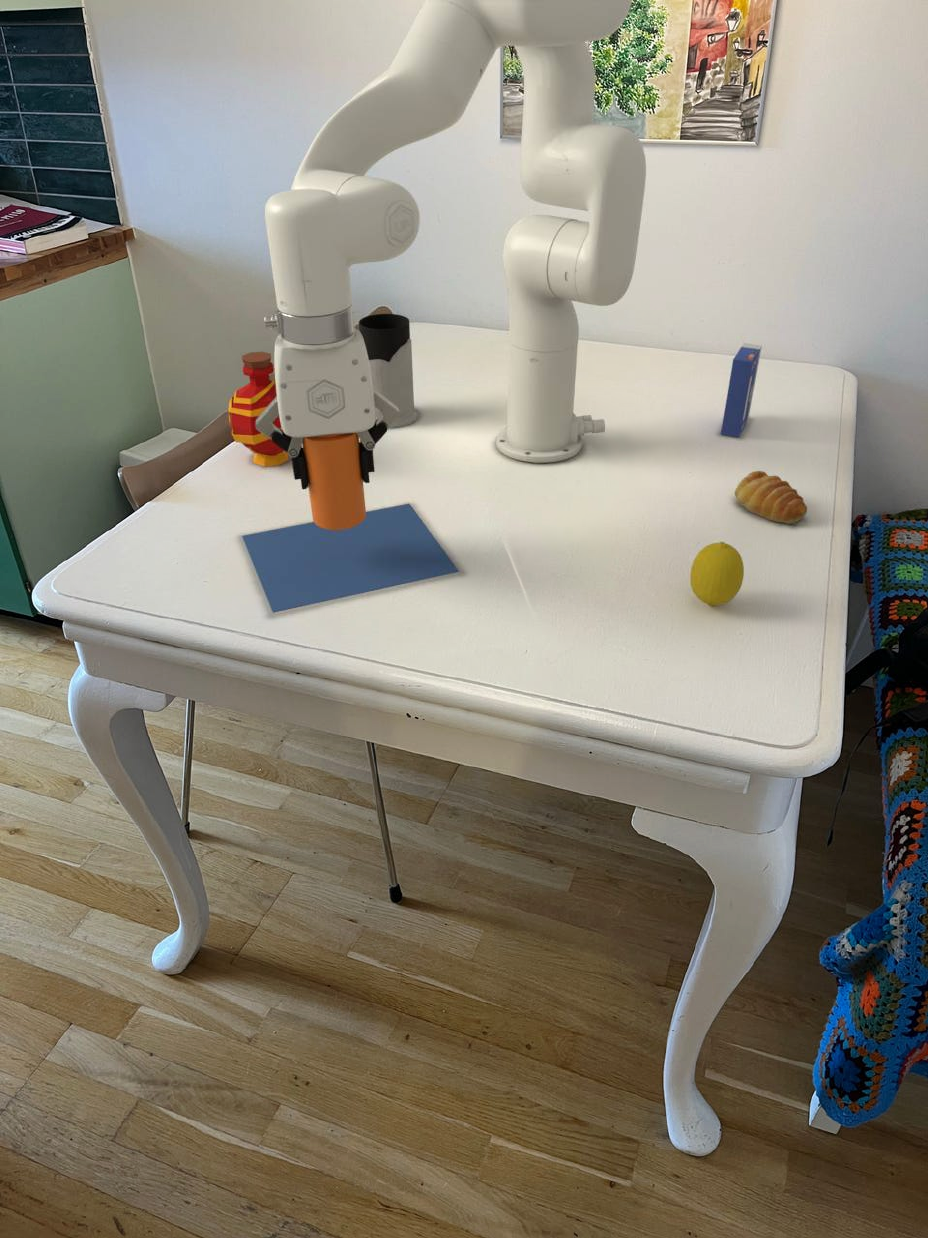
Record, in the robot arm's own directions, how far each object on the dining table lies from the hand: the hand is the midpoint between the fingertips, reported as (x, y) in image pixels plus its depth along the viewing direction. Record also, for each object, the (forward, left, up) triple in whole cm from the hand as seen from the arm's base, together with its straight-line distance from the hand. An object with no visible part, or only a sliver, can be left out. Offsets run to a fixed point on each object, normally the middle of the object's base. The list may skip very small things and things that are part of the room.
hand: (335, 479), depth 105 cm
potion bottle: (+8, -30, -11) cm, 33 cm away
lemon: (-40, +17, -11) cm, 45 cm away
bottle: (0, 0, -5) cm, 5 cm away
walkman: (-62, -28, -11) cm, 68 cm away
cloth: (-1, -1, -11) cm, 11 cm away
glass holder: (-8, -43, -11) cm, 45 cm away
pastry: (-56, -3, -11) cm, 57 cm away
